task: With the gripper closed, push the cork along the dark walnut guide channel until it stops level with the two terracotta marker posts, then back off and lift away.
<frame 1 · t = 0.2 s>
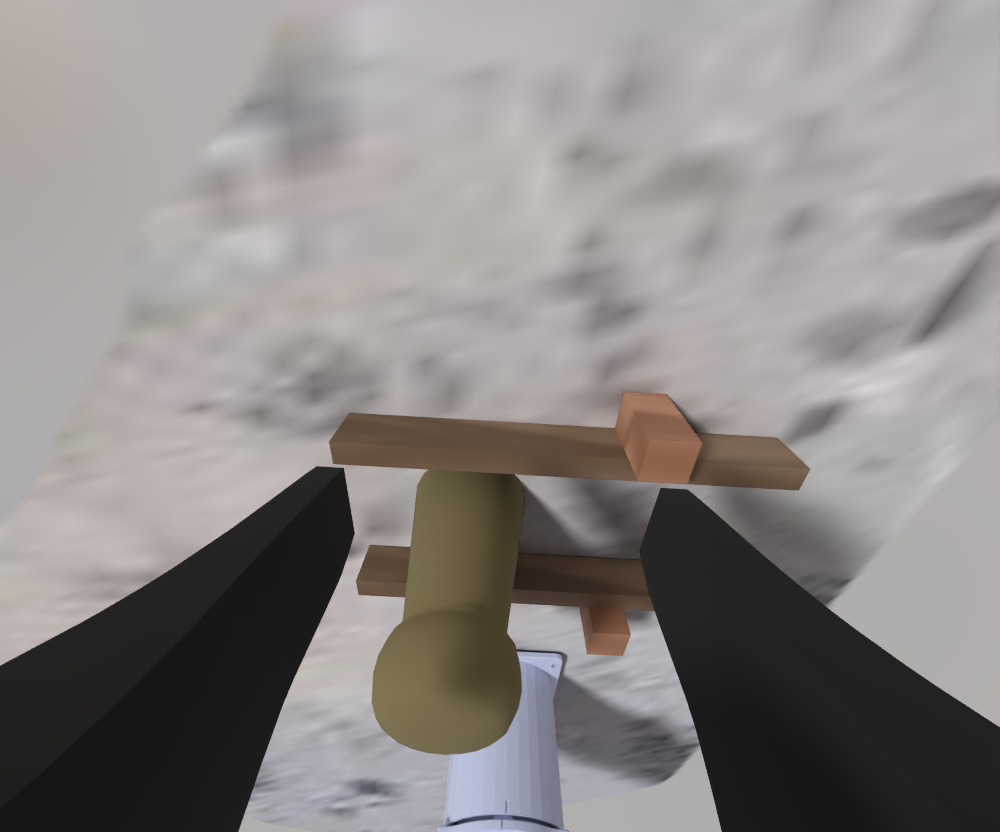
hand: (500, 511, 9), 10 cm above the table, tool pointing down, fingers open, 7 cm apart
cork: (470, 497, 22), on the table
guide channel: (551, 505, 22), on the table
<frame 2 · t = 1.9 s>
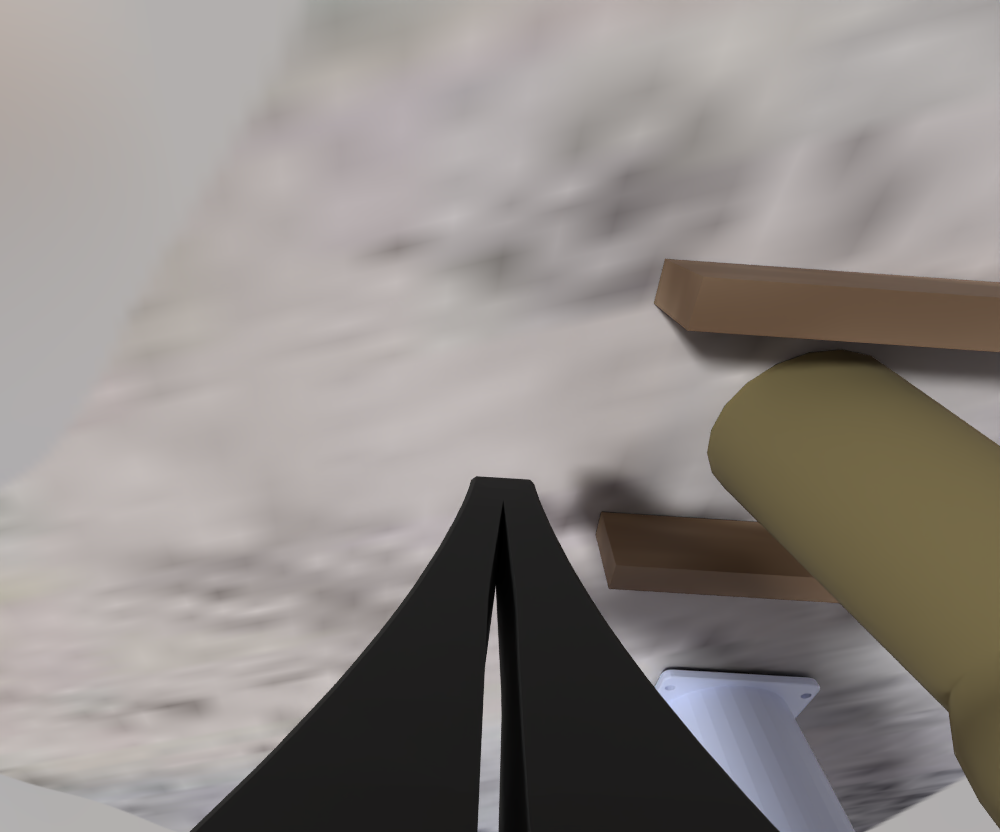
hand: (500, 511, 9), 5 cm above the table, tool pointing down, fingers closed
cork: (796, 431, 14), on the table
guide channel: (932, 443, 14), on the table
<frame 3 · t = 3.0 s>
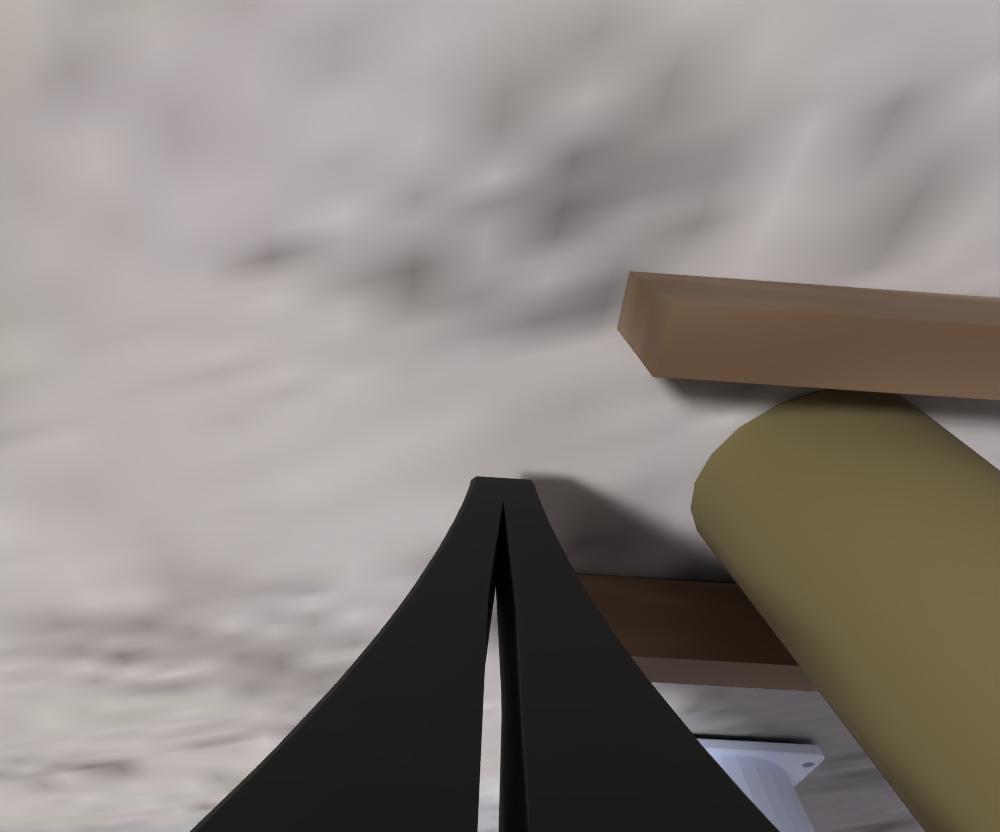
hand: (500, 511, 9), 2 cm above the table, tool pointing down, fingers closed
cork: (801, 482, 11), on the table
guide channel: (970, 498, 11), on the table
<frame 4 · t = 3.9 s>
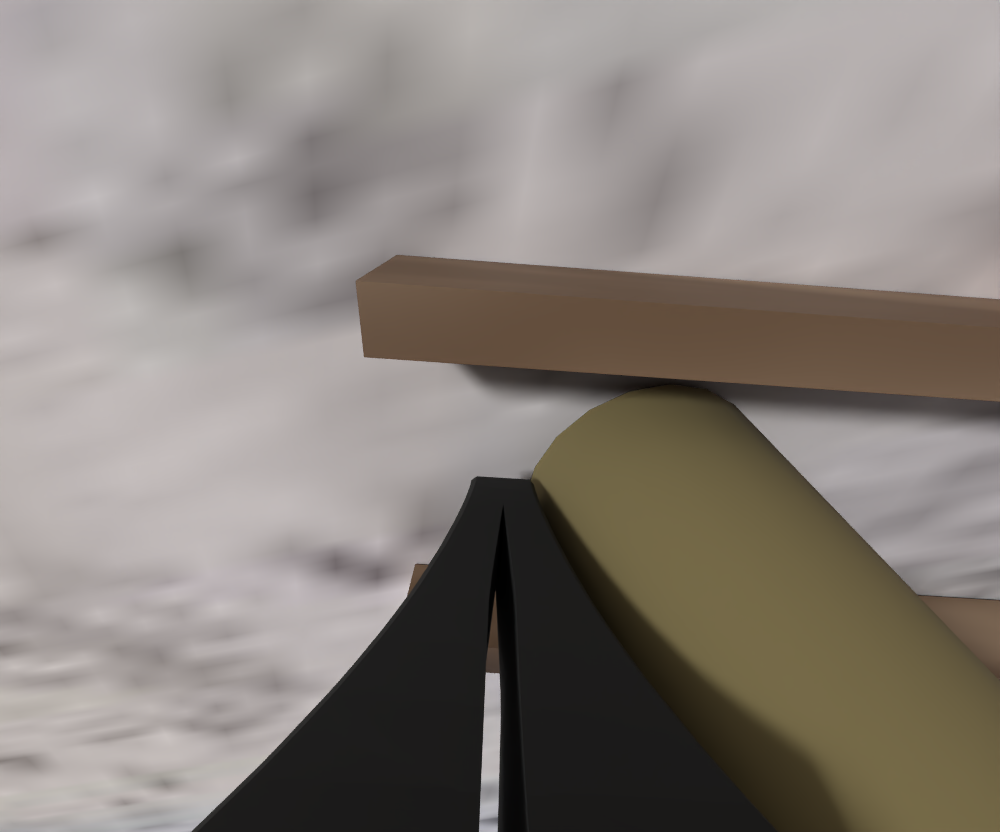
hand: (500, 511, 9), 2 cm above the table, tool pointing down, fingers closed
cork: (636, 485, 10), on the table
guide channel: (797, 488, 11), on the table
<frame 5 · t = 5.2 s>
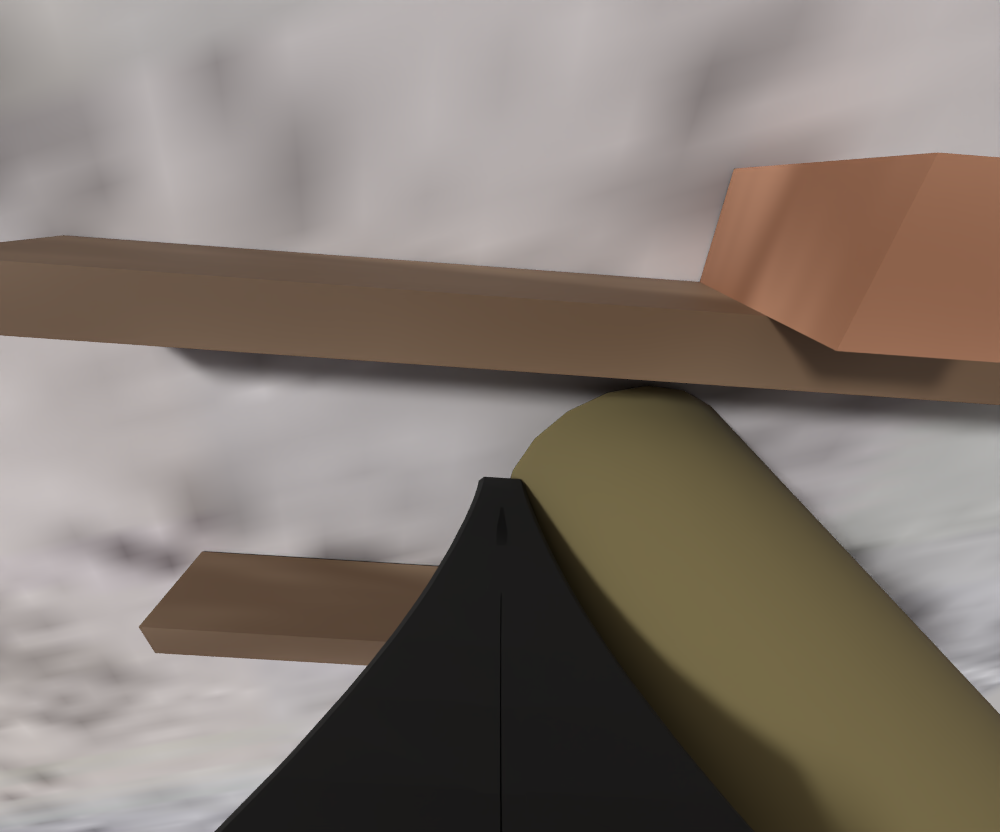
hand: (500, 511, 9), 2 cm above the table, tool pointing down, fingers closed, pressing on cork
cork: (615, 486, 10), on the table, touching gripper
guide channel: (547, 473, 11), on the table
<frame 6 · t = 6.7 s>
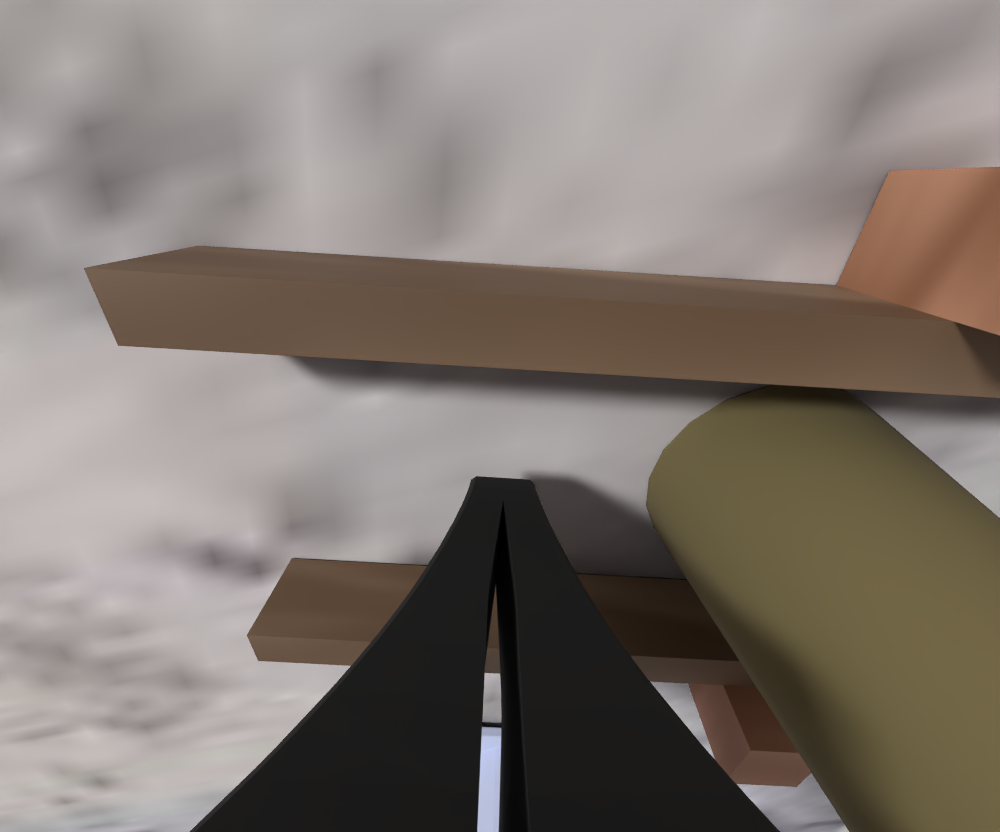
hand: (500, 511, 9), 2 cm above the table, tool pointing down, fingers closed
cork: (756, 479, 11), on the table
guide channel: (652, 478, 11), on the table
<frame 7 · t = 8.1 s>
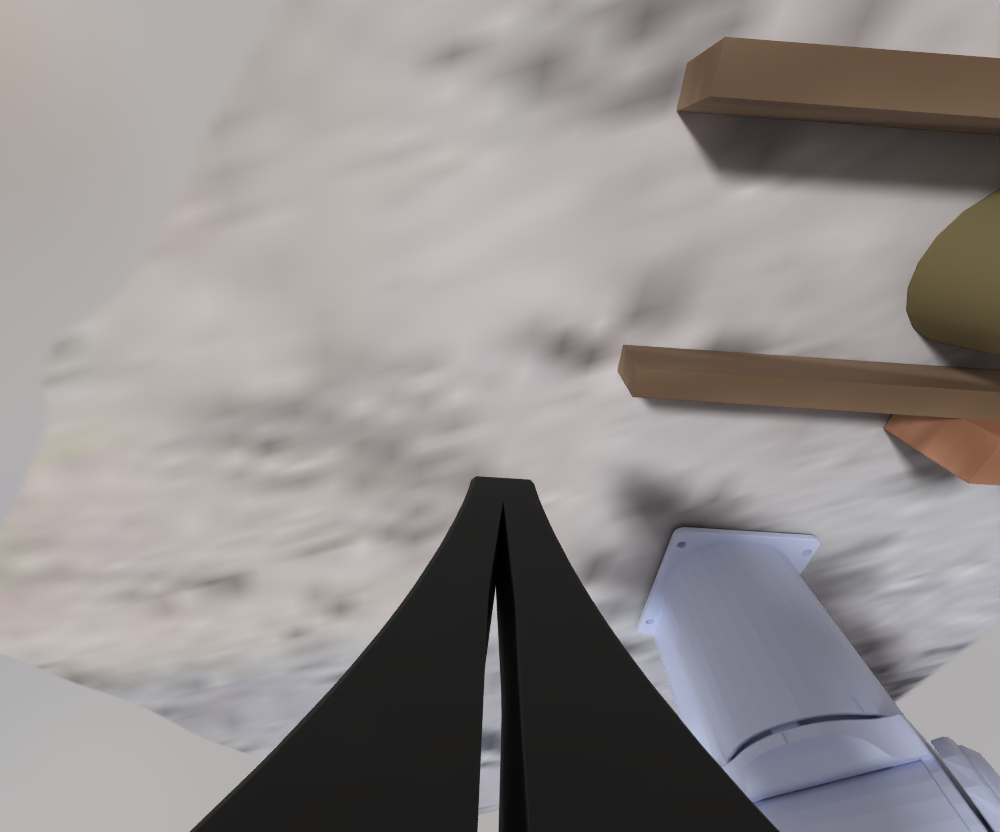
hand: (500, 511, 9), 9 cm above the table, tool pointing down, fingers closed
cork: (991, 267, 15), on the table
guide channel: (921, 262, 15), on the table
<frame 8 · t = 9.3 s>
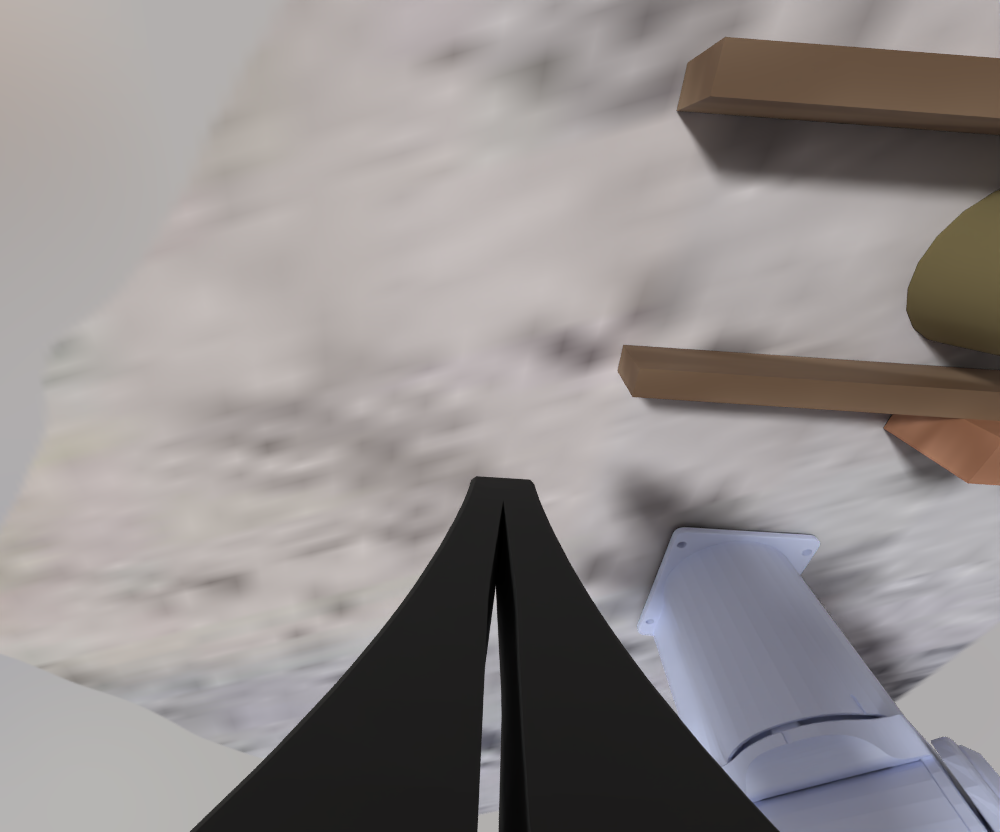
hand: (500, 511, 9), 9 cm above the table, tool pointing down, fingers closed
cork: (991, 267, 15), on the table
guide channel: (921, 262, 15), on the table
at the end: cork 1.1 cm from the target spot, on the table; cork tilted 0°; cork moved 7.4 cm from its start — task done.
